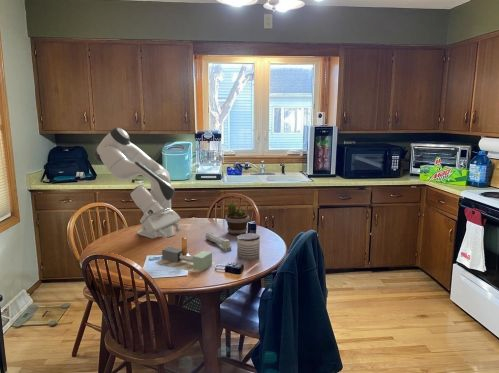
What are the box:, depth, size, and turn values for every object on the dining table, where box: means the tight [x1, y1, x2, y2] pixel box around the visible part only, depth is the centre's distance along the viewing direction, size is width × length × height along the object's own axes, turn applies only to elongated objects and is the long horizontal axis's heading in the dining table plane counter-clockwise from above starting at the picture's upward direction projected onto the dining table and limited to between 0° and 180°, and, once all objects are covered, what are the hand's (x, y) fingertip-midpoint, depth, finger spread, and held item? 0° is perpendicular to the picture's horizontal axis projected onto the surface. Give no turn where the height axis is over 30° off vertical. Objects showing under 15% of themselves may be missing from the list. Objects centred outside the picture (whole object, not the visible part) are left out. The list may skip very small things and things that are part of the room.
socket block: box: [192, 250, 213, 272], centre depth 176 cm, size 5×8×6 cm, turn 153°
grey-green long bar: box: [205, 232, 232, 252], centre depth 208 cm, size 5×7×25 cm
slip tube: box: [178, 237, 194, 262], centre depth 181 cm, size 16×3×11 cm, turn 63°
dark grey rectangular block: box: [161, 246, 182, 263], centre depth 184 cm, size 9×5×5 cm, turn 63°
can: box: [236, 232, 261, 261], centre depth 190 cm, size 11×11×12 cm
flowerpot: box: [224, 201, 250, 236], centre depth 229 cm, size 14×15×20 cm
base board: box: [155, 259, 216, 274], centre depth 182 cm, size 25×14×1 cm, turn 63°
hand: (172, 234), depth 180 cm, fingers open, 8 cm apart
